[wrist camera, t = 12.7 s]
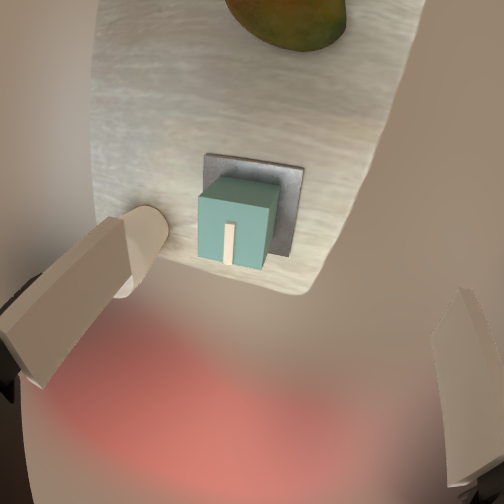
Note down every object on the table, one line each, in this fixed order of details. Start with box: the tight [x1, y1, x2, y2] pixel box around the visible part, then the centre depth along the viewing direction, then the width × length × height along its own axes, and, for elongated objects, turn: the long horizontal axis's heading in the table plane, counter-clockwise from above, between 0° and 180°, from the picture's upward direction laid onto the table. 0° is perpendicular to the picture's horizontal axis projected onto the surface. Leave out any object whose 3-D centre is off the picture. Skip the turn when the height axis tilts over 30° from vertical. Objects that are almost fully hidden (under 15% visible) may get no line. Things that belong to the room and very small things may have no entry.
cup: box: [113, 206, 169, 298], centre depth 40 cm, size 9×9×12 cm
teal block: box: [198, 176, 280, 270], centre depth 36 cm, size 7×7×8 cm
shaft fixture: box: [203, 154, 304, 257], centre depth 37 cm, size 12×12×6 cm
